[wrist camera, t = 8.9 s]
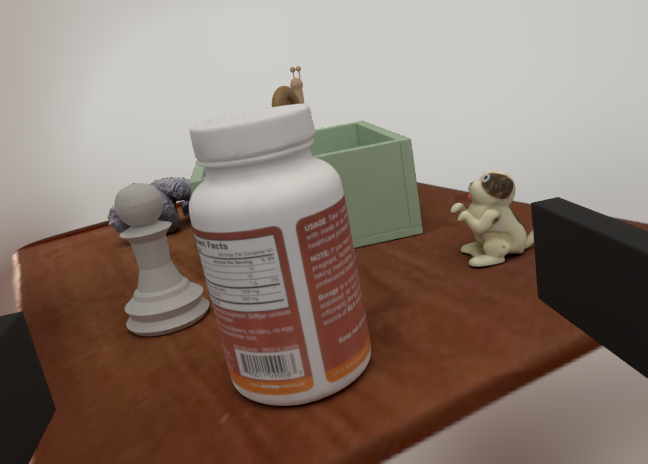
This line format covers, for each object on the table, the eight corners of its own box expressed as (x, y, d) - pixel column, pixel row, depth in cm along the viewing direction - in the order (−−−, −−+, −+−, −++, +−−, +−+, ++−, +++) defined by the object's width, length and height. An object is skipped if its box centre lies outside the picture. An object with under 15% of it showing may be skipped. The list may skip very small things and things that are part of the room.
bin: (212, 279, 40) (188, 182, 38) (215, 224, 53) (199, 152, 52) (423, 233, 41) (411, 138, 39) (373, 192, 55) (362, 120, 53)
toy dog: (455, 249, 37) (446, 171, 36) (537, 241, 36) (531, 160, 34) (457, 270, 34) (447, 184, 32) (547, 262, 33) (541, 173, 31)
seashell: (210, 225, 59) (120, 265, 52) (179, 183, 59) (87, 217, 53) (229, 194, 55) (135, 233, 48) (196, 150, 56) (99, 182, 49)
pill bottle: (342, 323, 30) (302, 98, 27) (398, 378, 24) (355, 100, 21) (220, 362, 28) (161, 126, 25) (249, 431, 22) (178, 137, 19)
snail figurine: (338, 174, 65) (319, 62, 62) (315, 190, 60) (293, 67, 56) (294, 178, 68) (273, 70, 64) (268, 194, 62) (244, 76, 59)
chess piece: (112, 327, 34) (72, 193, 32) (181, 295, 37) (149, 171, 35) (154, 345, 31) (113, 197, 29) (226, 308, 34) (194, 172, 32)
